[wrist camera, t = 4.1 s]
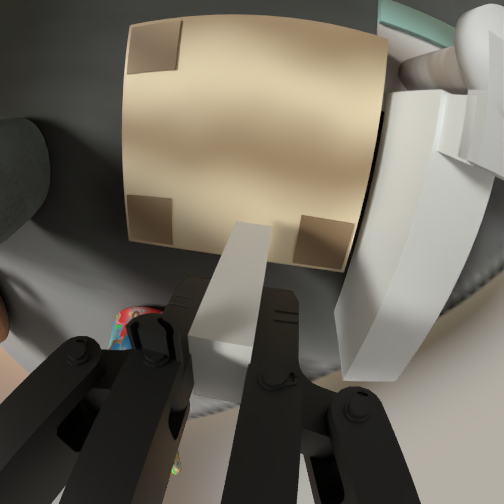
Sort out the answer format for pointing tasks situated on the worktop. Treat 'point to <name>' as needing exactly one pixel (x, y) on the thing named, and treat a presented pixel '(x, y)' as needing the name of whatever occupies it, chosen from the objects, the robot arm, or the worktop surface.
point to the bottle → (21, 173)
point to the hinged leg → (424, 205)
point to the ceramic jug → (3, 321)
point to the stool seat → (266, 125)
